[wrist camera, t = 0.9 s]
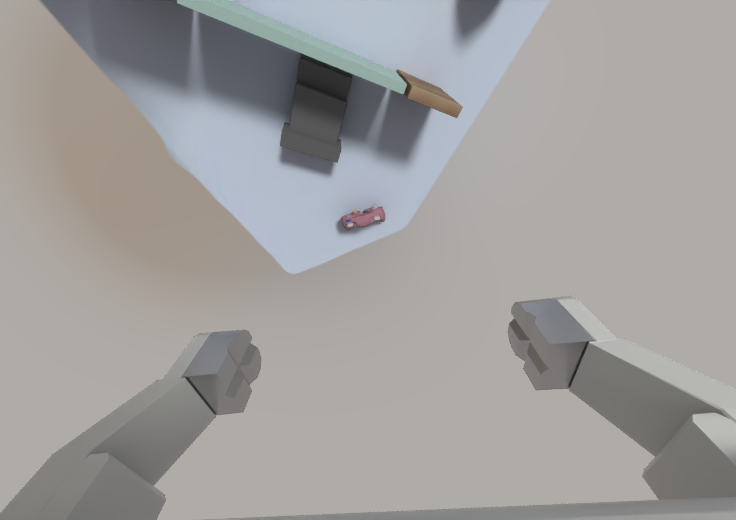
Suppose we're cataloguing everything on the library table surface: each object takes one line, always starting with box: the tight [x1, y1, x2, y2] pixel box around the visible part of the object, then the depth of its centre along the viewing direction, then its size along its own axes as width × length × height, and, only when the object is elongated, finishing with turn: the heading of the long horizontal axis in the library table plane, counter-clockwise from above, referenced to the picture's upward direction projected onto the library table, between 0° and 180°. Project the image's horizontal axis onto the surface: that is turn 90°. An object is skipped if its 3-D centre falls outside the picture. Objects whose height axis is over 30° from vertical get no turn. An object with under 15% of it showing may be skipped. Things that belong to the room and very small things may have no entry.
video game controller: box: [341, 205, 385, 230], centre depth 60 cm, size 10×5×7 cm, turn 104°
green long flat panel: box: [171, 0, 407, 94], centre depth 34 cm, size 28×1×8 cm, turn 71°
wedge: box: [280, 53, 353, 163], centre depth 44 cm, size 14×10×4 cm
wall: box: [397, 70, 463, 118], centre depth 35 cm, size 2×48×11 cm, turn 70°
